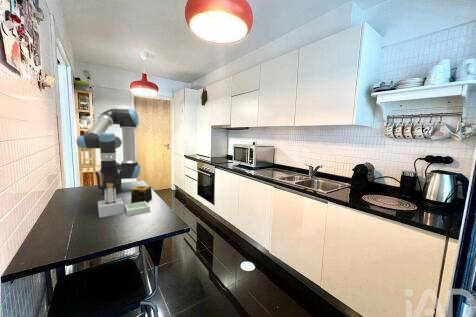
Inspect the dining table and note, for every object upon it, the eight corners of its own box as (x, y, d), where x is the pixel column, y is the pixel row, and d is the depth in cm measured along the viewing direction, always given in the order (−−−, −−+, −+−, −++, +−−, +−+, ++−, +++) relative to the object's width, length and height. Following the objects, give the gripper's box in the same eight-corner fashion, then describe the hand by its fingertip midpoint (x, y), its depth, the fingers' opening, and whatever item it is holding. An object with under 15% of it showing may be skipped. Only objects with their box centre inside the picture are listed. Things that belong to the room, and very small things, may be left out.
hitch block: (98, 211, 120) (97, 201, 119) (121, 207, 127) (120, 198, 126) (99, 217, 110) (98, 207, 110) (124, 213, 118) (123, 203, 117)
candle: (145, 204, 134) (145, 189, 133) (130, 203, 134) (130, 189, 133) (152, 199, 144) (152, 185, 143) (138, 199, 144) (138, 185, 143)
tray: (124, 209, 123) (124, 204, 123) (145, 206, 130) (145, 201, 130) (127, 216, 113) (127, 210, 113) (150, 211, 121) (150, 206, 120)
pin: (105, 211, 119) (104, 183, 117) (115, 210, 122) (114, 182, 120) (106, 214, 115) (105, 185, 114) (116, 212, 118) (114, 183, 116)
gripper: (90, 161, 107) (92, 204, 110) (126, 160, 117) (127, 198, 120) (90, 160, 113) (92, 200, 116) (124, 158, 123) (125, 195, 126)
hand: (110, 199), depth 118 cm, fingers closed on pin, 4 cm apart
